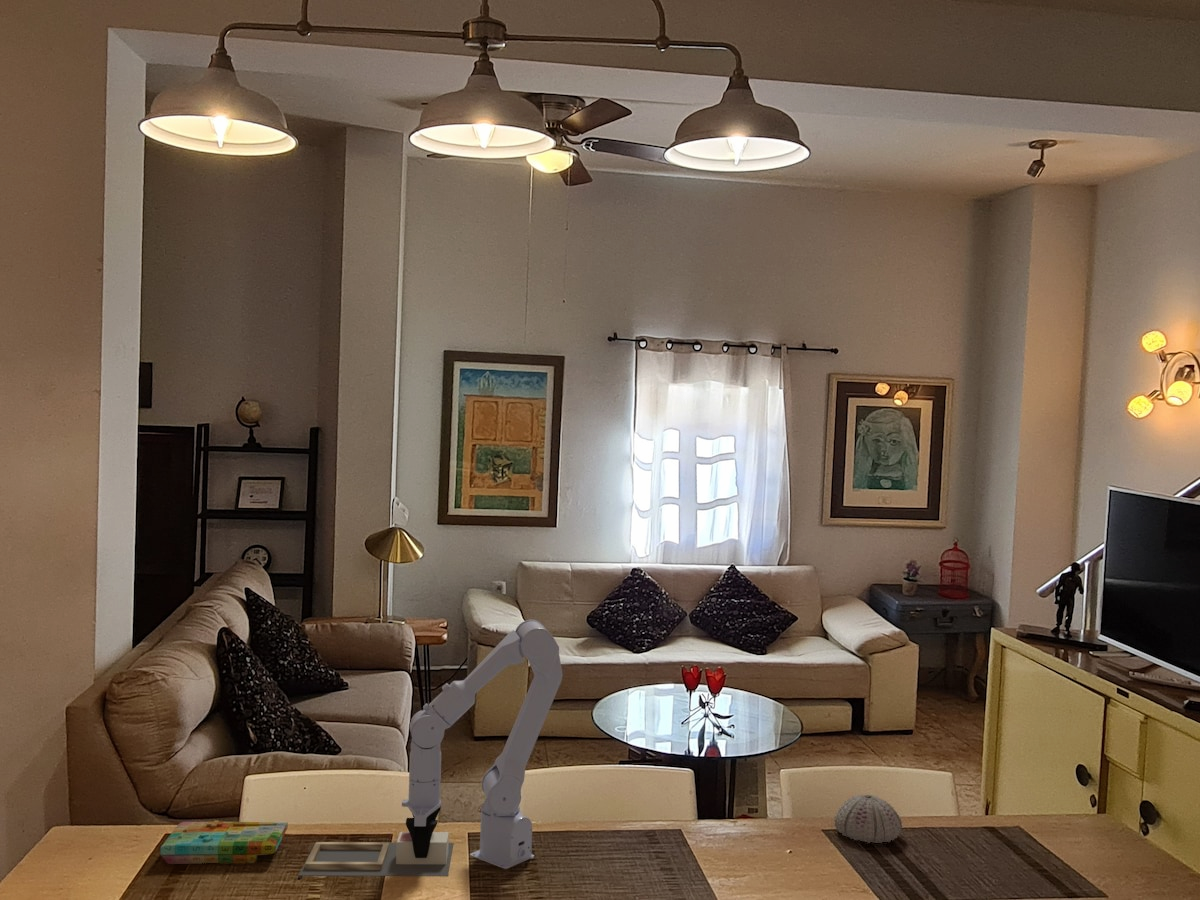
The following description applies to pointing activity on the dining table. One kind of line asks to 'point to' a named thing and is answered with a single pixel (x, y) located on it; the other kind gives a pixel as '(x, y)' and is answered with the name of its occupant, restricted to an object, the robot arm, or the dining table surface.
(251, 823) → the puzzle game
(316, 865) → the frame
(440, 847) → the card box
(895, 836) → the sea urchin shell
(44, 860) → the dining table surface
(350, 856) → the mat
